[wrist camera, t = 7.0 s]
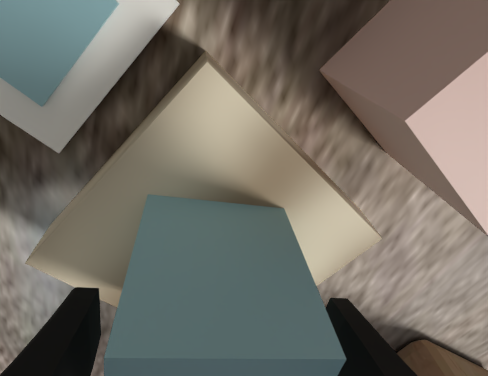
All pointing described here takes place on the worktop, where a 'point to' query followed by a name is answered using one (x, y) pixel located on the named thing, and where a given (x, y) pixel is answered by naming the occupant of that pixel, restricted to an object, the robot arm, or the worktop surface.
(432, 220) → the worktop surface
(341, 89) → the rose cube
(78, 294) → the robot arm
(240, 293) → the teal cube
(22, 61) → the card
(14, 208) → the worktop surface
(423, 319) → the worktop surface
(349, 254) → the birch block
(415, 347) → the wooden block
